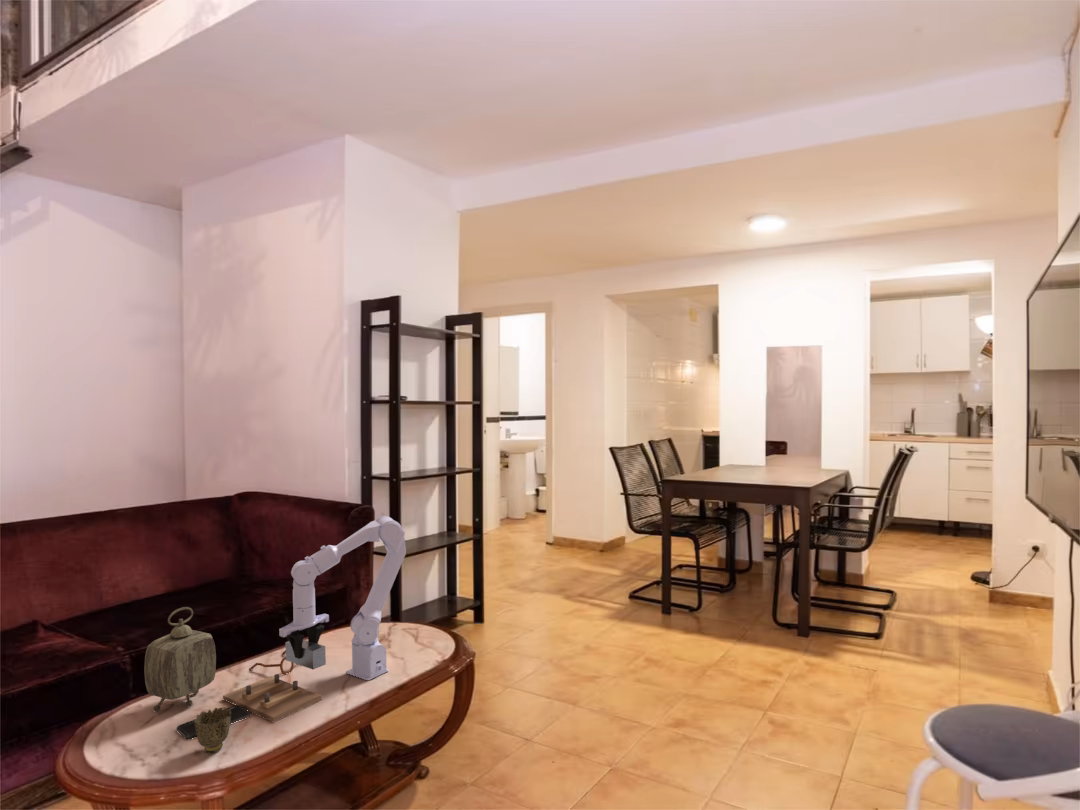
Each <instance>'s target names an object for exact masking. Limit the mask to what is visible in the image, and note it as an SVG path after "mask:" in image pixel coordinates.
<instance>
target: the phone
mask: <svg viewBox="0 0 1080 810" xmlns="http://www.w3.org/2000/svg"><path fill="white" fill-rule="evenodd" d="M225 708H226V707H225ZM226 709H227V711H228V710H229V709H230V710H231V719H230V724H231V723H234V722H236V721H239V720H242V719H245V718H247V717H249V718H251V716H250V715H251V712H249V711H247V710H246V709H245V708H243V707H242V706H240V705H232V706H229V707H227V708H226ZM222 710H224V708H222ZM247 719H248V718H247ZM195 720H197V718H196V719H195ZM245 720H246V719H245ZM242 721H243V720H242ZM239 722H240V721H239ZM234 724H235V723H234ZM231 725H232V724H231ZM177 731H178V732H179V733H180V734H181V735H180V734H179V733H178V732H177ZM176 732H177V733H178V734H179V735H180V736H182V737H183V738H184V737H185V738H186V739H185V738H184V739H185V740H187V739H190V740H193V739H192V738H194V737H196V738H197V735H196V729H195V723H194V719H192V720H190V721H188V722H184V723H182V724H178V725H177V726H176ZM194 739H195V738H194Z"/></svg>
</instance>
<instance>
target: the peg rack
mask: <svg viewBox="0 0 1080 810" xmlns="http://www.w3.org/2000/svg"><path fill="white" fill-rule="evenodd" d="M298 685H299V684H298V680H293V681H292V683H290V682H287V681H285V680H282V679H280V674H279V673H275V674H274V676H272V675H271V676H269V677H265V678H263V679H261V680H258V681H256V682H254V683H250V684H248V685H245V686H243V687H241V688H239V689H236V690H233V691H231V692H228V693H225V694H223V695H222V700H223V699H224V700H227V701H229V702H231V703H234V704H236V705H240V706H242V707H243V708H245V709H246V710H248V711H250V713H251V712H253V713H252V714H254V715H256V714H257V715H256V716H258V715H260V716H261V718H263V717H264V718H263V719H265V718H266V720H267V719H269V720H268V721H270V720H271V721H270V722H272V721H273V722H272V723H275V722H277V721H279V720H278V719H280V718H282V717H284V718H286V717H288V716H290V715H293V714H295V713H296V711H297V712H299V711H301V710H303V709H305V708H307V706H308V707H310V706H312V705H313V703H314V704H316V703H319V702H320V701H323V695H322V694H319V693H316V692H314V691H311V690H309V689H306V688H303V687H300V686H298ZM224 700H223V701H224ZM319 700H320V701H319ZM229 702H228V703H229ZM315 702H316V703H315ZM231 703H230V704H231ZM311 704H312V705H311ZM309 705H310V706H309ZM302 708H303V709H302ZM300 709H301V710H300ZM298 710H299V711H298ZM294 712H295V713H294ZM292 713H293V714H292ZM289 714H290V715H289ZM287 715H288V716H287ZM260 716H259V717H260ZM285 716H286V717H285ZM282 719H283V718H282ZM276 720H277V721H276ZM280 720H281V719H280ZM274 721H275V722H274Z"/></svg>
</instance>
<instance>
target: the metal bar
mask: <svg viewBox="0 0 1080 810" xmlns="http://www.w3.org/2000/svg"><path fill="white" fill-rule="evenodd" d="M284 644H285V650H286V653H285V657H286V659H285V661H287V662H290V663H291V662H292V663H294V665H299V666H301V667H304V668H307V669H310V670H316V669H318V668H320V667H324V666H325V665H327V664H326V662H327V660H326V657H327V656H326V646H325V645H322V644H320V643H318V644H317V643H313V642H310V641H308V639H307V640H306V639H303V643H302V658H300V659H298V658H295V655H294V652H293V649H292V646H291V644H290V642H289V640H287V641H286V642H284Z"/></svg>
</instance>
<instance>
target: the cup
mask: <svg viewBox="0 0 1080 810" xmlns="http://www.w3.org/2000/svg"><path fill="white" fill-rule="evenodd" d="M223 709H224V710H223ZM195 718H196V719H197V720H195V719H193V720H194V723H195V729H196V735H197V737H196V739H197V741H198V743H199V745H201V746H202V747H204V748H203V749H204V751H205V753H207V754H215V753H217V752H219V751H221V750H222V748H223V746H224V745H223V743H224V742H225V741H226V740H227V738H228V735H229V734H230V733H229V732H230V726H231V725H230V719H231V710H230V709H229V710H228V711H227V709H226V707H224V708H222V707H219V708H217V707H215V708H214V709H213V711H212V710H211V709H208V711H201V712H200V713H199V714H196V716H195Z"/></svg>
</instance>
